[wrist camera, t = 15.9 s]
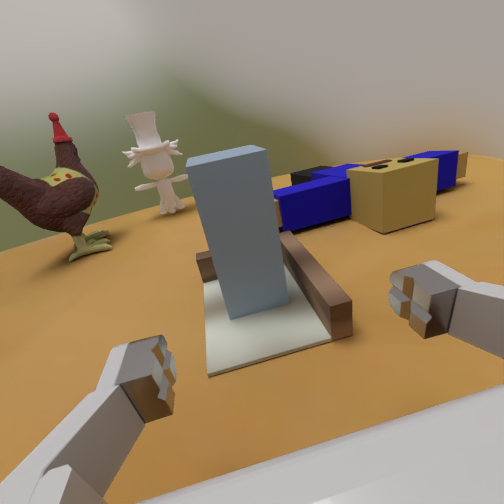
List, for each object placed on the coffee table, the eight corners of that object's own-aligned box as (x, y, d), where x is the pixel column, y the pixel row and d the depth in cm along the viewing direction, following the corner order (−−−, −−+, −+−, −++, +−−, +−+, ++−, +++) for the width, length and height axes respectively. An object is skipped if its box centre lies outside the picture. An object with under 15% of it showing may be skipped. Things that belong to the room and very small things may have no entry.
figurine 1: (137, 227, 48) (86, 106, 39) (91, 269, 35) (-1, 103, 26) (84, 236, 50) (23, 121, 40) (21, 279, 37) (-89, 124, 28)
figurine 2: (195, 202, 57) (168, 110, 48) (202, 211, 50) (172, 106, 42) (147, 216, 54) (110, 121, 46) (147, 226, 48) (104, 118, 39)
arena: (352, 335, 18) (352, 300, 16) (208, 377, 17) (195, 344, 15) (292, 255, 29) (289, 230, 27) (204, 277, 28) (196, 253, 26)
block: (289, 303, 21) (267, 149, 16) (230, 320, 21) (185, 167, 15) (273, 273, 26) (251, 144, 20) (224, 286, 25) (188, 158, 20)
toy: (372, 143, 53) (529, 132, 29) (372, 177, 56) (517, 194, 31) (231, 177, 49) (274, 197, 25) (239, 211, 52) (285, 262, 27)
